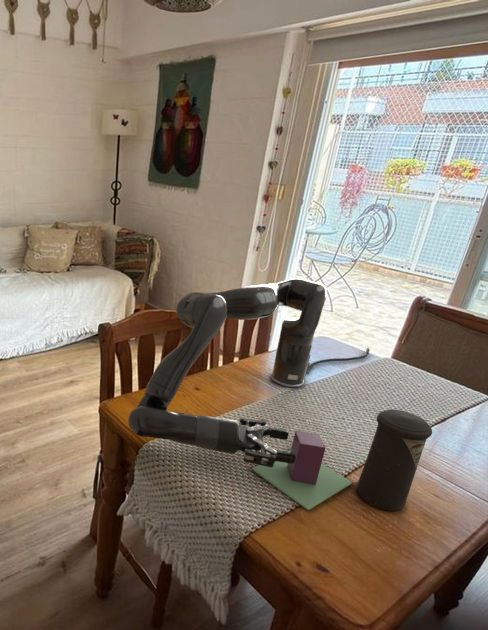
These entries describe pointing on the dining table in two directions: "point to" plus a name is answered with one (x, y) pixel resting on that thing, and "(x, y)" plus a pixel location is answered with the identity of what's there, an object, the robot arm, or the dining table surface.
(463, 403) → the dining table surface
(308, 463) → the block
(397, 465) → the container
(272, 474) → the mat
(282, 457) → the robot arm
